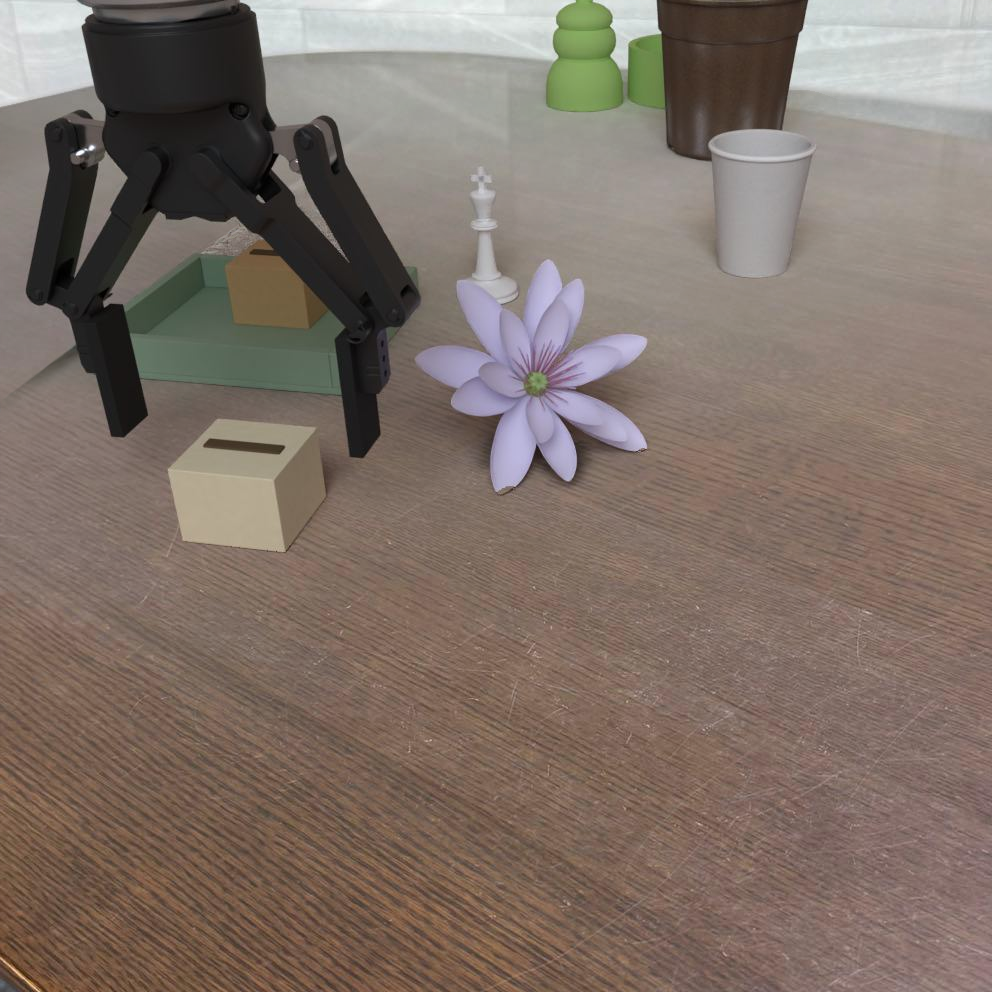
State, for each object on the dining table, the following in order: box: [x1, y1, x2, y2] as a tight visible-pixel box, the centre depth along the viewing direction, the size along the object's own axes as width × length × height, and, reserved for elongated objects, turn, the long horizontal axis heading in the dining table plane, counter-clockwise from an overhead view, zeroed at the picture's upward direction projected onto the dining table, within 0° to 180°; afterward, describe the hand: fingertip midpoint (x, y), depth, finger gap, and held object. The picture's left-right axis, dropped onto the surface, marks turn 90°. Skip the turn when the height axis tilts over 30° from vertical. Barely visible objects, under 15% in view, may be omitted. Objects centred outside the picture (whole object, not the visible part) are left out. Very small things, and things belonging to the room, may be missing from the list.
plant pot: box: [656, 0, 809, 162], centre depth 125 cm, size 16×16×16 cm
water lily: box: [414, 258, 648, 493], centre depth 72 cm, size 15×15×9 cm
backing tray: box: [92, 252, 420, 396], centre depth 88 cm, size 19×17×3 cm
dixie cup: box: [708, 129, 818, 279], centre depth 96 cm, size 8×8×10 cm
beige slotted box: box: [167, 418, 327, 553], centre depth 66 cm, size 6×6×5 cm
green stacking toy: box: [545, 0, 665, 113], centre depth 146 cm, size 25×15×13 cm, turn 101°
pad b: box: [225, 238, 328, 329], centre depth 90 cm, size 6×6×5 cm
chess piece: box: [455, 165, 520, 305], centre depth 92 cm, size 5×5×10 cm
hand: (245, 436), depth 64 cm, fingers open, 13 cm apart
